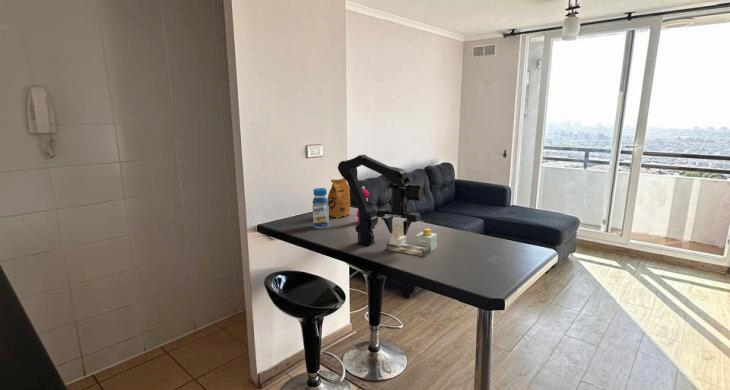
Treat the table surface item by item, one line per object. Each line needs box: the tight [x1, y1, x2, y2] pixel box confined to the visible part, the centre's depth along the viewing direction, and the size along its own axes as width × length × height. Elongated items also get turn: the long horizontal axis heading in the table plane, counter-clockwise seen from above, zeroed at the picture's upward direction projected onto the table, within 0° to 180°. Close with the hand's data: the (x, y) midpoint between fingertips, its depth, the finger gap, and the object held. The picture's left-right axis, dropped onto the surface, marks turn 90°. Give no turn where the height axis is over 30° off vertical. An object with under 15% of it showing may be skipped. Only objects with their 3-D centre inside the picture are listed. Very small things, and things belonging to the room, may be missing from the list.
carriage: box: [389, 223, 407, 246], centre depth 167 cm, size 5×6×8 cm
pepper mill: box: [356, 185, 370, 224], centre depth 209 cm, size 7×7×20 cm
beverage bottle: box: [312, 187, 330, 229], centre depth 202 cm, size 8×8×20 cm
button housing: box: [415, 230, 438, 252], centre depth 168 cm, size 7×7×6 cm
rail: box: [386, 241, 432, 258], centre depth 165 cm, size 18×6×2 cm, turn 58°
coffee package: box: [327, 177, 351, 219], centre depth 223 cm, size 10×12×22 cm
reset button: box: [422, 228, 432, 236], centre depth 168 cm, size 3×3×5 cm
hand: (398, 234), depth 167 cm, fingers open, 6 cm apart
